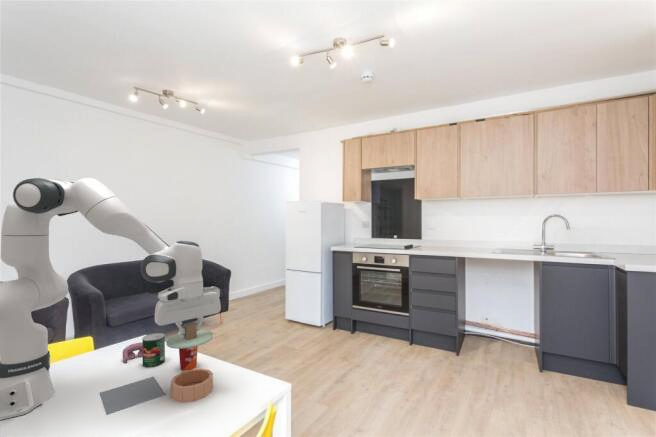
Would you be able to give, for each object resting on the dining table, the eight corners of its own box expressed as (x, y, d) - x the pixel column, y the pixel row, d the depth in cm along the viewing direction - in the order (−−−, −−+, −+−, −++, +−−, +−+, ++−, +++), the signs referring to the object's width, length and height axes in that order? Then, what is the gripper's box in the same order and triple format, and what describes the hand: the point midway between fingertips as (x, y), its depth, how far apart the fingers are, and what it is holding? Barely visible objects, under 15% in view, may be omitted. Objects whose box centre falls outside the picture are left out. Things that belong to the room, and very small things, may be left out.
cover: (174, 352, 96) (173, 336, 96) (161, 340, 106) (160, 325, 106) (219, 339, 105) (219, 325, 105) (203, 329, 116) (203, 316, 116)
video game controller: (149, 357, 137) (147, 341, 139) (151, 356, 134) (149, 338, 136) (122, 364, 130) (120, 347, 133) (124, 363, 127) (122, 345, 130)
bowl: (178, 408, 97) (178, 392, 97) (166, 392, 106) (166, 377, 106) (218, 393, 105) (218, 378, 105) (204, 379, 115) (204, 365, 115)
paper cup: (191, 374, 119) (190, 336, 119) (173, 372, 120) (172, 334, 120) (203, 364, 126) (203, 328, 126) (186, 362, 128) (185, 327, 128)
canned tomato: (141, 370, 122) (141, 341, 122) (142, 362, 129) (142, 335, 129) (165, 366, 125) (165, 337, 125) (165, 358, 132) (164, 331, 132)
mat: (106, 416, 94) (106, 414, 94) (99, 394, 106) (99, 392, 106) (166, 395, 104) (166, 394, 104) (153, 377, 116) (153, 376, 116)
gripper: (215, 284, 115) (217, 322, 115) (152, 294, 101) (153, 337, 101) (223, 286, 110) (224, 326, 110) (157, 297, 97) (159, 343, 97)
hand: (190, 332), depth 106 cm, fingers closed on cover, 3 cm apart
